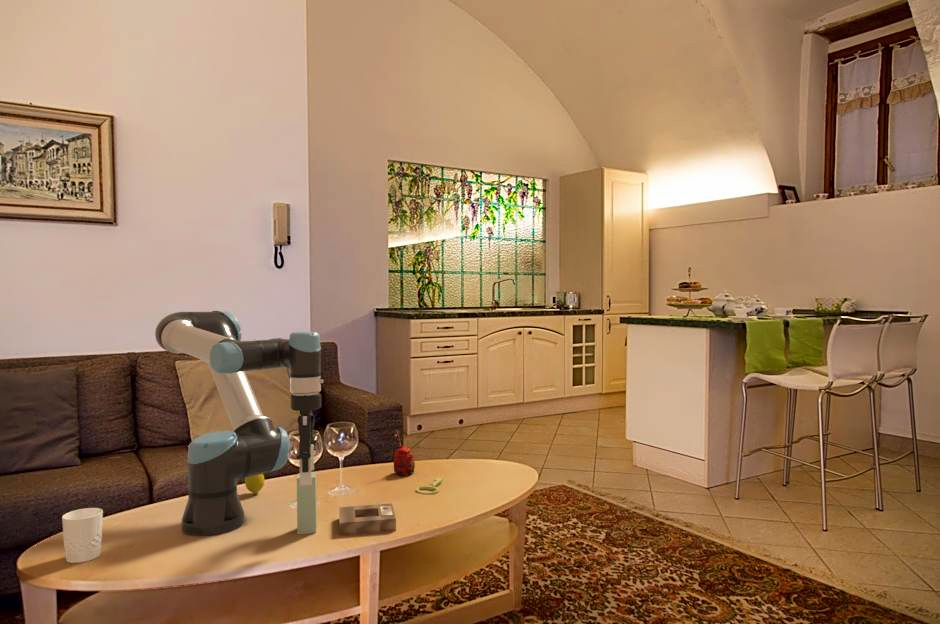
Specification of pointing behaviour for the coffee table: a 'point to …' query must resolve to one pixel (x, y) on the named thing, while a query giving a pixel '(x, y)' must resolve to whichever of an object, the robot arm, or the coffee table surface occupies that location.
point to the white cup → (82, 534)
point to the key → (430, 487)
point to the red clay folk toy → (403, 460)
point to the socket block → (366, 519)
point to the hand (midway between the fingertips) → (307, 477)
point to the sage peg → (306, 506)
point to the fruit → (255, 483)
